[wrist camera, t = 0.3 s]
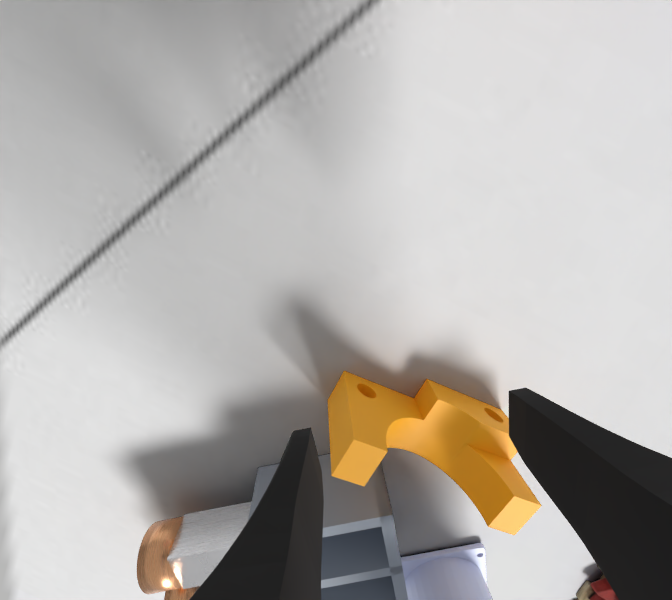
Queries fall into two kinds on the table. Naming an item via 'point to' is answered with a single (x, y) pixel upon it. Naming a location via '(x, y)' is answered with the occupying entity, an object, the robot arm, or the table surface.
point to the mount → (353, 537)
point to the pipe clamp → (431, 442)
